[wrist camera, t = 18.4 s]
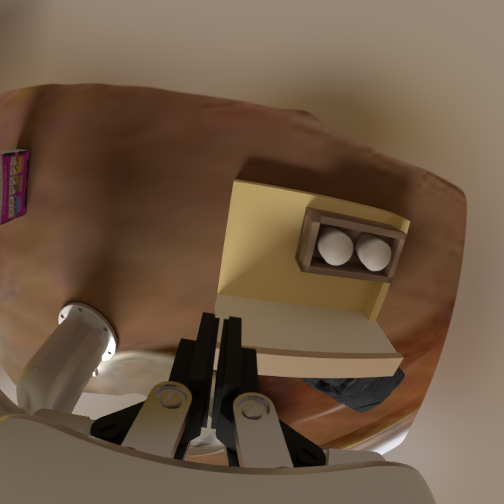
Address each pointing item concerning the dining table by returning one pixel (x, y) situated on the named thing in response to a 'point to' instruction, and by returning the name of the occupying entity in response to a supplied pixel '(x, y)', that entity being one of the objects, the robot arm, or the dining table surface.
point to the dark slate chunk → (358, 389)
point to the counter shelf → (299, 290)
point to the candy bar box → (13, 183)
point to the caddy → (348, 246)
